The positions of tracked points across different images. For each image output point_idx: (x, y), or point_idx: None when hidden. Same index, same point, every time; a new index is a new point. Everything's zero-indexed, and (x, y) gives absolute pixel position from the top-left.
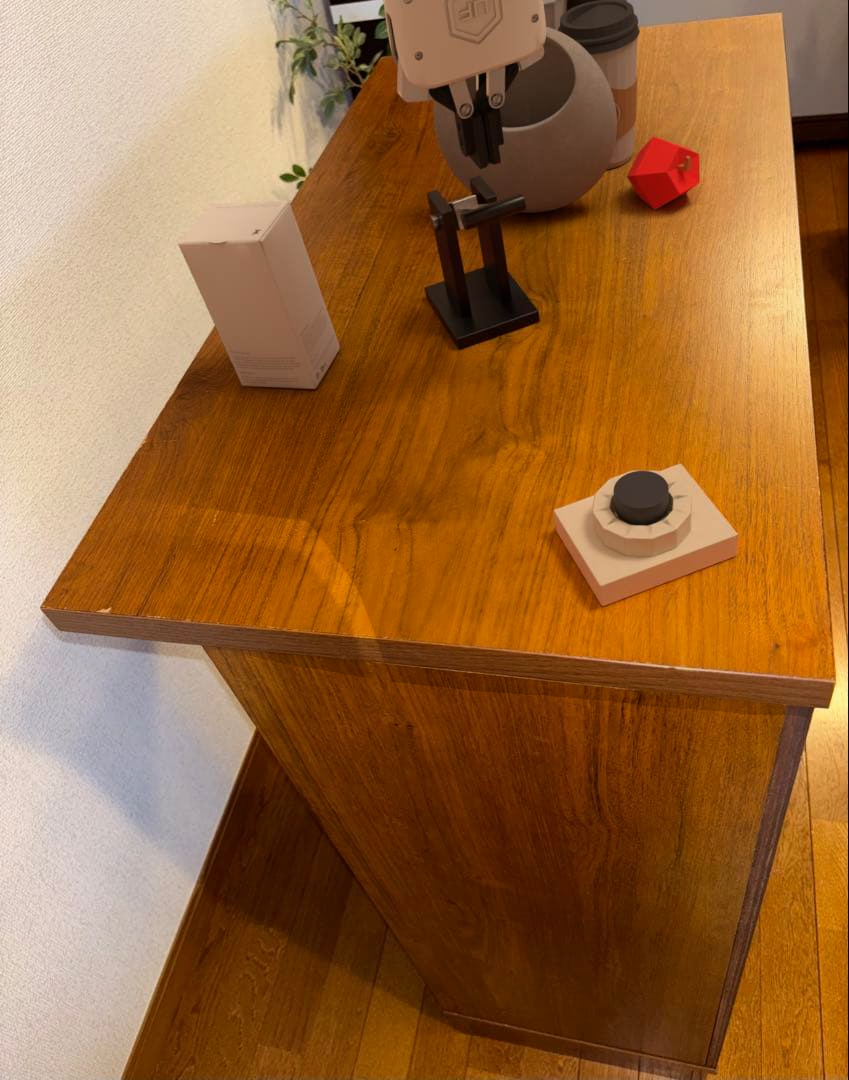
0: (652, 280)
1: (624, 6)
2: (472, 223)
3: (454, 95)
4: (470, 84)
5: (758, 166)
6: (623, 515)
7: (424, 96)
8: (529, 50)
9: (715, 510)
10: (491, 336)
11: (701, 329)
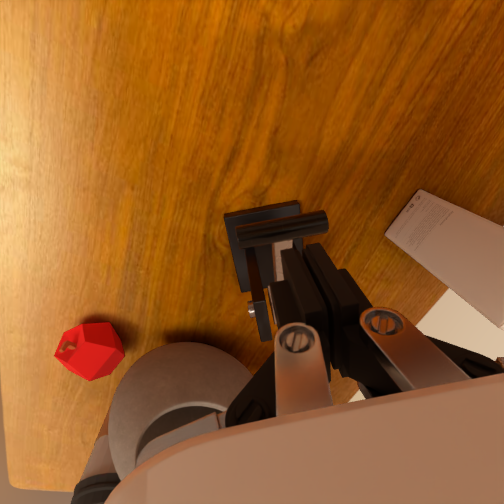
0: (120, 236)
1: None
2: (315, 212)
3: (438, 353)
4: None
5: (20, 348)
6: None
7: None
8: (184, 463)
9: None
10: (267, 206)
11: (80, 148)
